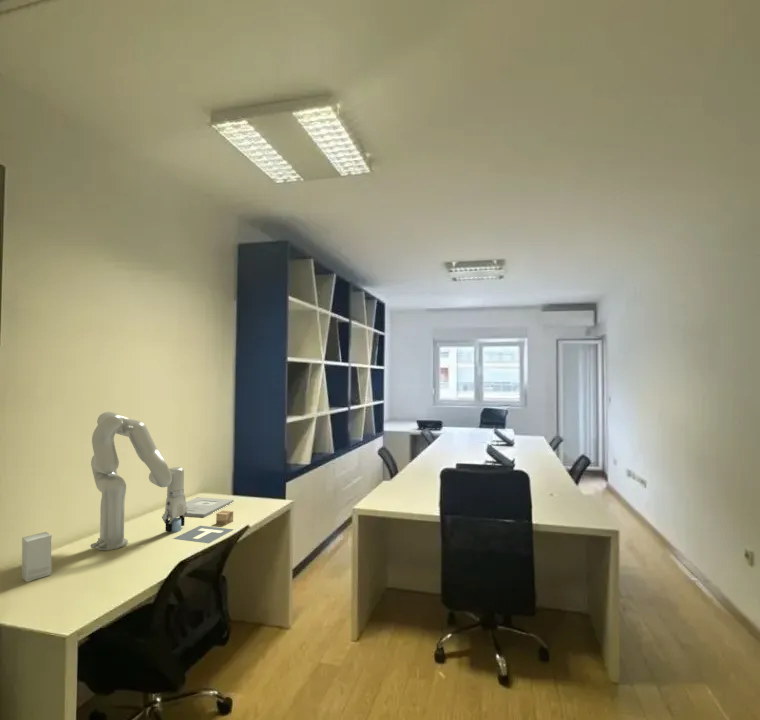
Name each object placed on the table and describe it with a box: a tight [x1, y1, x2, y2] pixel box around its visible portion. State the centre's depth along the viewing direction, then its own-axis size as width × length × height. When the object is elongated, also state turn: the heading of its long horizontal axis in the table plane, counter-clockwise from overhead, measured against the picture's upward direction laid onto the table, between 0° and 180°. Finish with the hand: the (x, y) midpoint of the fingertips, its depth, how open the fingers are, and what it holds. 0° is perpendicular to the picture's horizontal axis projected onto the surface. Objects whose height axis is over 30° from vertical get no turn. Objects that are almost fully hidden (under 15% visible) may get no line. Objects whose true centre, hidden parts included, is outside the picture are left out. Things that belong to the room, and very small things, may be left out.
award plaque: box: [185, 497, 234, 518], centre depth 273 cm, size 25×30×2 cm
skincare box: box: [21, 531, 52, 583], centre depth 182 cm, size 8×7×16 cm
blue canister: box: [170, 517, 182, 533], centre depth 233 cm, size 6×6×6 cm
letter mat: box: [172, 525, 235, 544], centre depth 228 cm, size 20×20×1 cm
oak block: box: [215, 509, 234, 526], centre depth 245 cm, size 6×6×6 cm
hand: (175, 528), depth 233 cm, fingers open, 8 cm apart
